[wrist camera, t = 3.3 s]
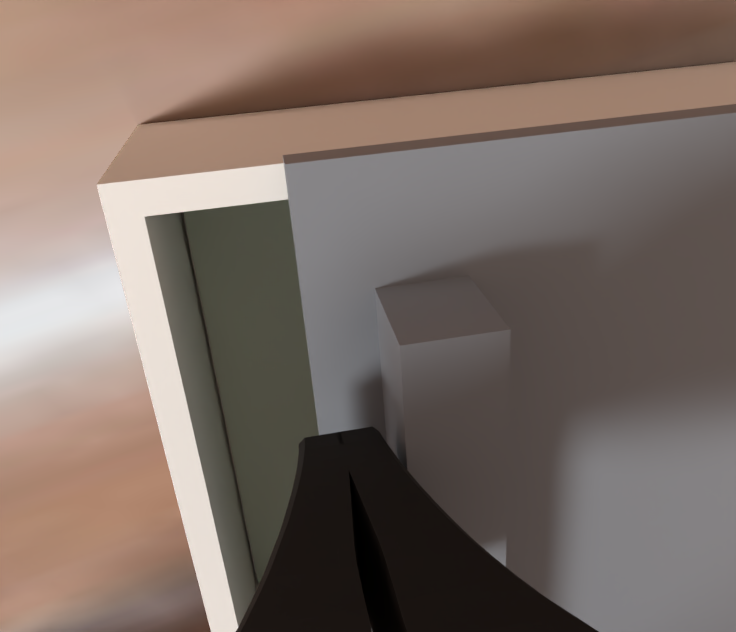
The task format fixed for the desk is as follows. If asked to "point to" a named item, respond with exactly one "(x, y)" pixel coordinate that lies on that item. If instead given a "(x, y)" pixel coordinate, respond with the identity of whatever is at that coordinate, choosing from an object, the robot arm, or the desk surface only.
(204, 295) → the white box
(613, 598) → the sliding lid
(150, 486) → the desk surface
